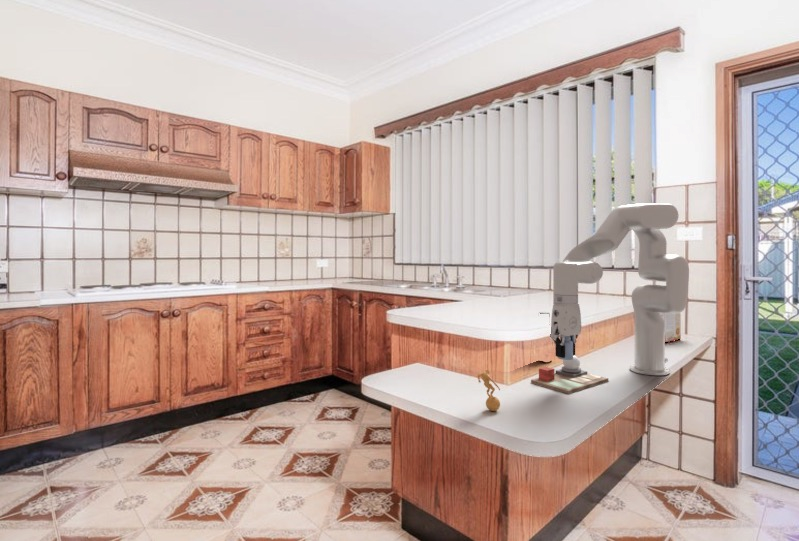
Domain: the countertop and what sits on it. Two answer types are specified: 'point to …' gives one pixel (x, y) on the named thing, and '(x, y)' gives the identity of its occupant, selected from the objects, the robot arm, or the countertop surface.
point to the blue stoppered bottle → (568, 349)
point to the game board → (567, 380)
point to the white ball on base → (571, 365)
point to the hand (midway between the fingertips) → (565, 355)
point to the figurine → (492, 401)
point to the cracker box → (672, 326)
